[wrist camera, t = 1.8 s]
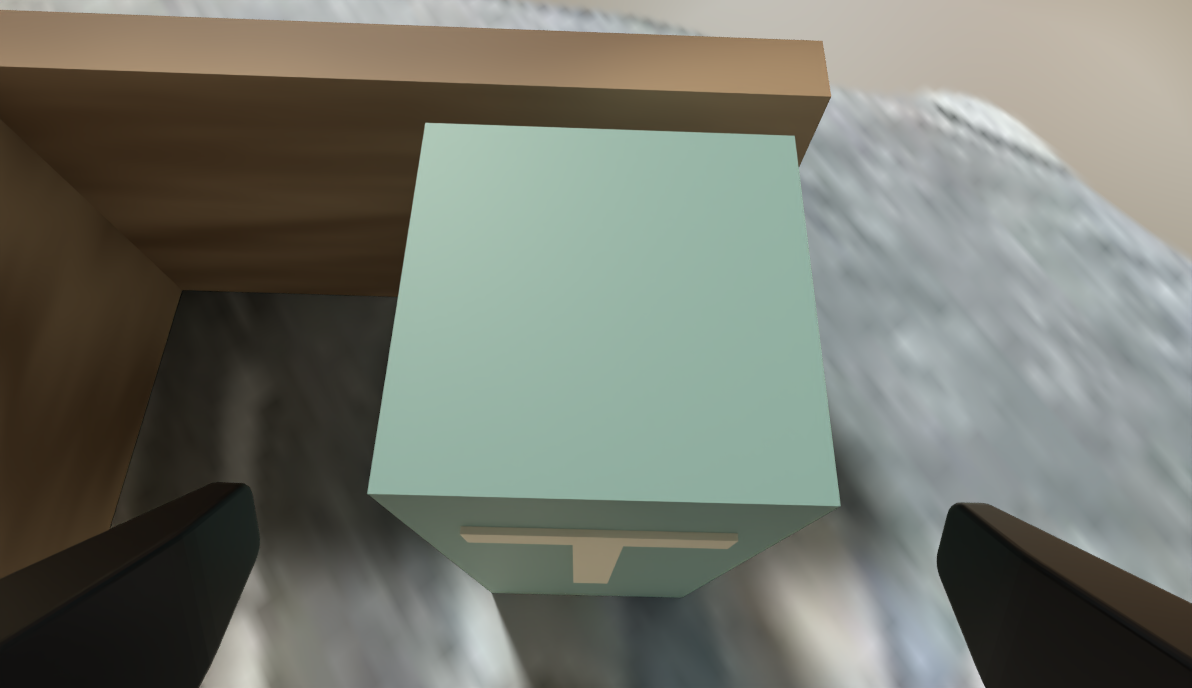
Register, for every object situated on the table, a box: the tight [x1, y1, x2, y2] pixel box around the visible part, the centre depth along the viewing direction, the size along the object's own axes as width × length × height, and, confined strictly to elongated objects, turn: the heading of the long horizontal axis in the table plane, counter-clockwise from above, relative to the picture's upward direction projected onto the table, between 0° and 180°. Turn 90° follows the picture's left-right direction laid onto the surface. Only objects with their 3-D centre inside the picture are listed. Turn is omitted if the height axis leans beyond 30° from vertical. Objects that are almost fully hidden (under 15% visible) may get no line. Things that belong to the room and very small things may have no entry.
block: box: [367, 123, 841, 598], centre depth 14 cm, size 5×5×12 cm
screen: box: [0, 10, 831, 579], centre depth 16 cm, size 12×19×9 cm, turn 89°
